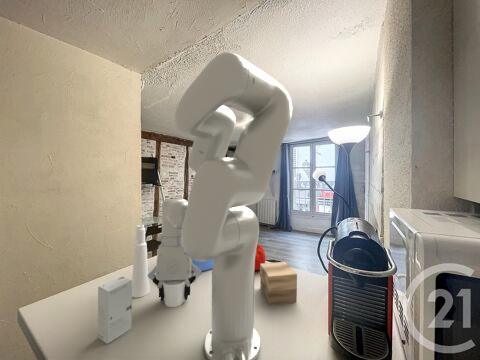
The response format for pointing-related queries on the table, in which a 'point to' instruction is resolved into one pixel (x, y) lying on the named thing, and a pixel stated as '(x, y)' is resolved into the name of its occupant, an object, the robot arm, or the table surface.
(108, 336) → the skincare box
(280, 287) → the tower top block
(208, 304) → the table surface
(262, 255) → the tomato
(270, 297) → the tower base block
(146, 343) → the table surface
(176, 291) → the white cup
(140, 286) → the cosmetic bottle
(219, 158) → the robot arm
